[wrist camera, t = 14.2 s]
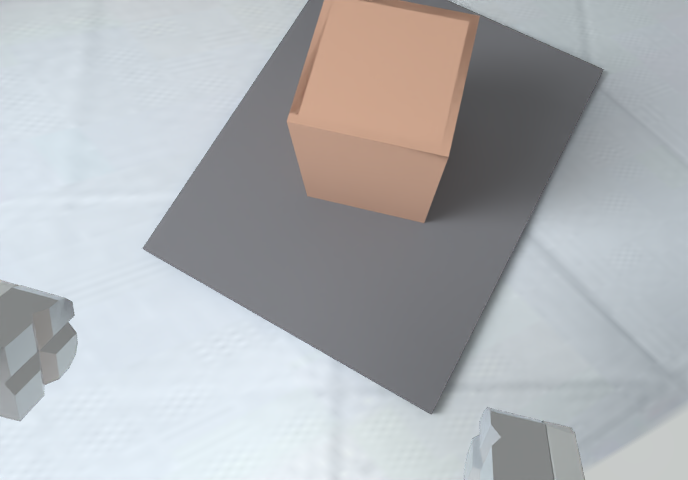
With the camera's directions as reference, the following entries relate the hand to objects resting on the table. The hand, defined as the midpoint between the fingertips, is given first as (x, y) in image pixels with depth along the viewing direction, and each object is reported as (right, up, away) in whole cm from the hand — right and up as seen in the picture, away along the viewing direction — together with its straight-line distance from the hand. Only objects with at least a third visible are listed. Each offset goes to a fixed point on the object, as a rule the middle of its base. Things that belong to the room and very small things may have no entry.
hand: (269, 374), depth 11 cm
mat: (+3, +7, +18) cm, 20 cm away
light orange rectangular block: (+3, +7, +18) cm, 19 cm away
